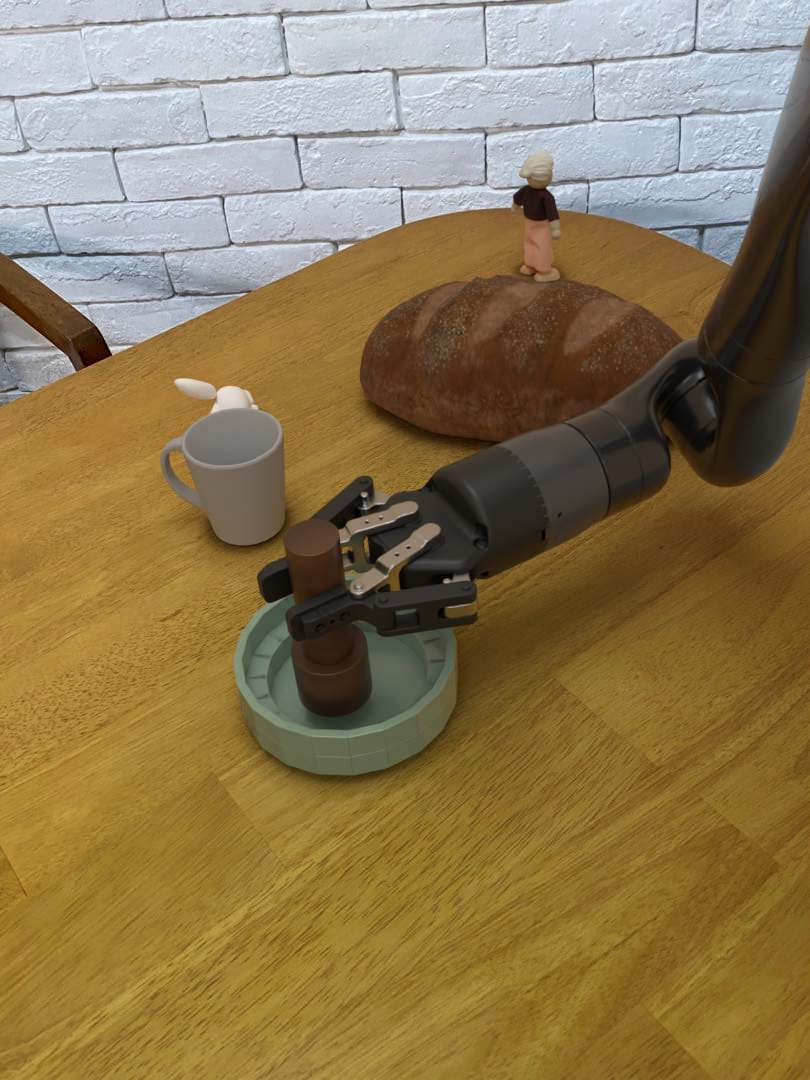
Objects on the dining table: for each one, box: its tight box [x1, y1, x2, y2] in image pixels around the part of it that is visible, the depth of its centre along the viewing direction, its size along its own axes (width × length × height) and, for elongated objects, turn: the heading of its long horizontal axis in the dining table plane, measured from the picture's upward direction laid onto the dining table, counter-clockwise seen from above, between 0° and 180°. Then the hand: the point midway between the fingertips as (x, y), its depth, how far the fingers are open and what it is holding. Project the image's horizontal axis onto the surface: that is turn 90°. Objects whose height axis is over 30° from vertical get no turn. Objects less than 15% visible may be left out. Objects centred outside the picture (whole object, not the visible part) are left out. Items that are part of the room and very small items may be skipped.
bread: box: [359, 274, 684, 443], centre depth 96 cm, size 16×29×11 cm, turn 75°
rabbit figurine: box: [173, 377, 260, 414], centre depth 98 cm, size 6×4×8 cm
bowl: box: [232, 573, 459, 777], centre depth 74 cm, size 14×14×4 cm
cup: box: [159, 408, 286, 546], centre depth 87 cm, size 8×10×8 cm
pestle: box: [282, 519, 373, 717], centre depth 68 cm, size 5×5×13 cm
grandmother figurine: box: [510, 150, 562, 283], centre depth 113 cm, size 8×4×13 cm, turn 43°
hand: (276, 607), depth 66 cm, fingers closed on pestle, 3 cm apart
